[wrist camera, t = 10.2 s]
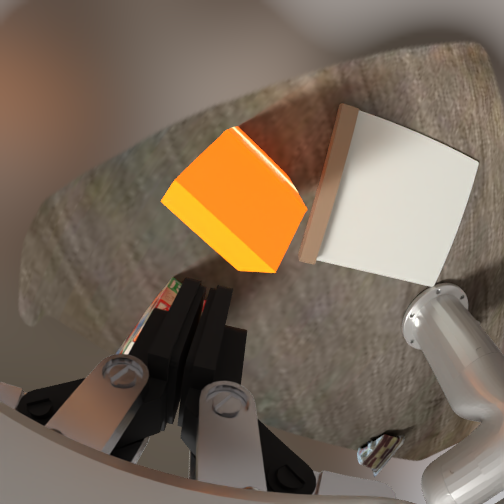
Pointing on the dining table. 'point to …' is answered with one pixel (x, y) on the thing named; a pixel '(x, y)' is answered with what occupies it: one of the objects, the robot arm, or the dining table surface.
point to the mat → (387, 199)
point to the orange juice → (238, 202)
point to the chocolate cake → (379, 452)
